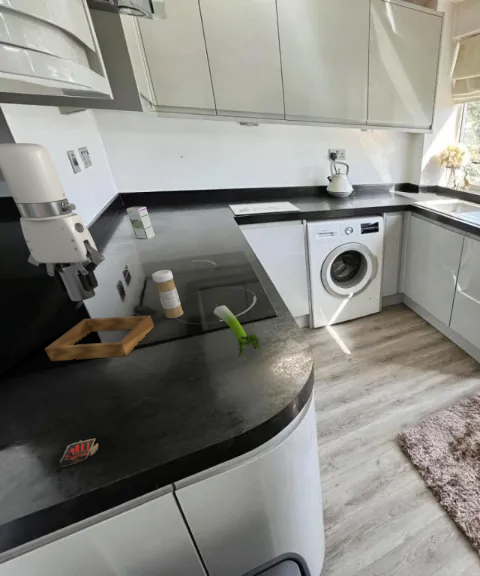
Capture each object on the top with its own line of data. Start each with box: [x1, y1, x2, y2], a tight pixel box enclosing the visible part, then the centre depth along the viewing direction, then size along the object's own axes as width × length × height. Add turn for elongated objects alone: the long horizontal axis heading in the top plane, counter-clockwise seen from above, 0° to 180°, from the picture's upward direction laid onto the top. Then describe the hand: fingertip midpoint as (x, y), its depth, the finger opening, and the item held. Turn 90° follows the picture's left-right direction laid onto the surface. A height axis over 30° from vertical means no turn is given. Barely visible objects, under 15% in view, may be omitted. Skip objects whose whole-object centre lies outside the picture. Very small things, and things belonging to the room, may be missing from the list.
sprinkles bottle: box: [151, 269, 184, 320], centre depth 90 cm, size 5×5×14 cm
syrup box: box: [126, 206, 156, 240], centre depth 154 cm, size 6×6×14 cm
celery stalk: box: [213, 305, 263, 362], centre depth 83 cm, size 6×7×30 cm
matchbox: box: [59, 437, 99, 468], centre depth 54 cm, size 5×5×1 cm
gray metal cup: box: [58, 265, 96, 302], centre depth 73 cm, size 4×4×7 cm
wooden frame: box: [44, 315, 155, 362], centre depth 80 cm, size 16×13×4 cm
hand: (79, 288), depth 74 cm, fingers closed on gray metal cup, 4 cm apart
